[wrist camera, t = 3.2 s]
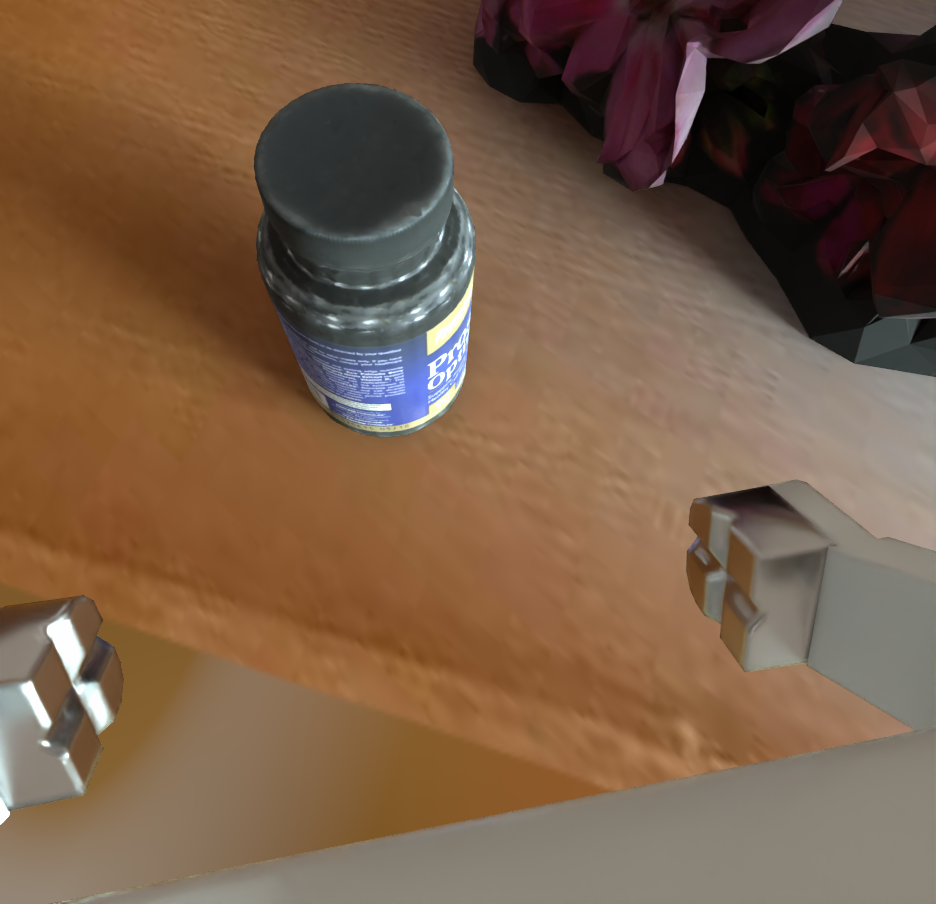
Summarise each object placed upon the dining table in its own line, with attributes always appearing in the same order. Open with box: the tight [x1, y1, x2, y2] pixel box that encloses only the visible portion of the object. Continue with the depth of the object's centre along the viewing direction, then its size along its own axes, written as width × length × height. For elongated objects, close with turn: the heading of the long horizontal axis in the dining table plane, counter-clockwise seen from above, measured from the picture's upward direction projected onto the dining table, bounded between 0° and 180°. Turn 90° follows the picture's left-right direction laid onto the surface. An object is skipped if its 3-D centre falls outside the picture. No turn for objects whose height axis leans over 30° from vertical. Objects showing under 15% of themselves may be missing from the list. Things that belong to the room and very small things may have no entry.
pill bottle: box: [254, 83, 476, 437], centre depth 21 cm, size 6×6×11 cm
